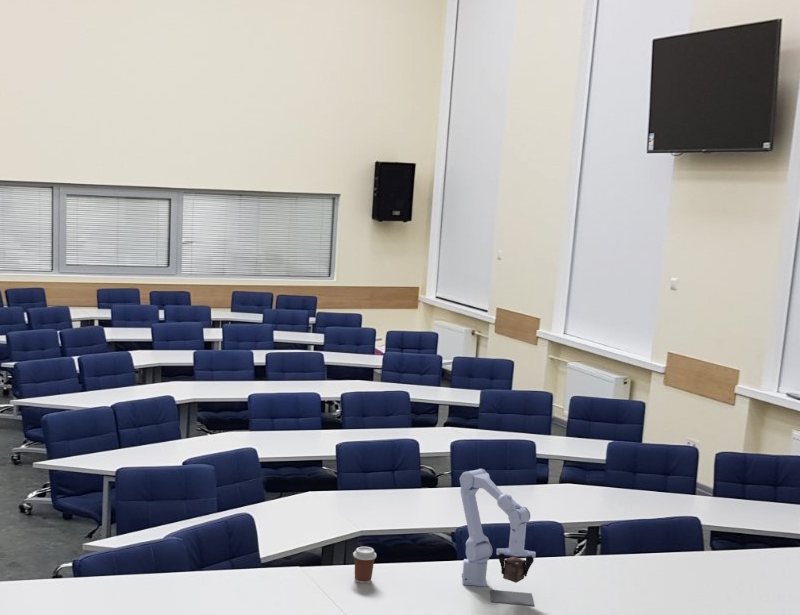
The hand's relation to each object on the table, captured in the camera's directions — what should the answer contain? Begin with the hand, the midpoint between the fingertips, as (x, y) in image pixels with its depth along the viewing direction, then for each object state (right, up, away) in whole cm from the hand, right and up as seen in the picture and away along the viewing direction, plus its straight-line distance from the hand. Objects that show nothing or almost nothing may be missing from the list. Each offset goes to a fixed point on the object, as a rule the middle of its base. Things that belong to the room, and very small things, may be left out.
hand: (513, 574), depth 363 cm
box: (0, -2, 0) cm, 2 cm away
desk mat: (-1, -9, +1) cm, 9 cm away
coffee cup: (-57, -4, +8) cm, 58 cm away
